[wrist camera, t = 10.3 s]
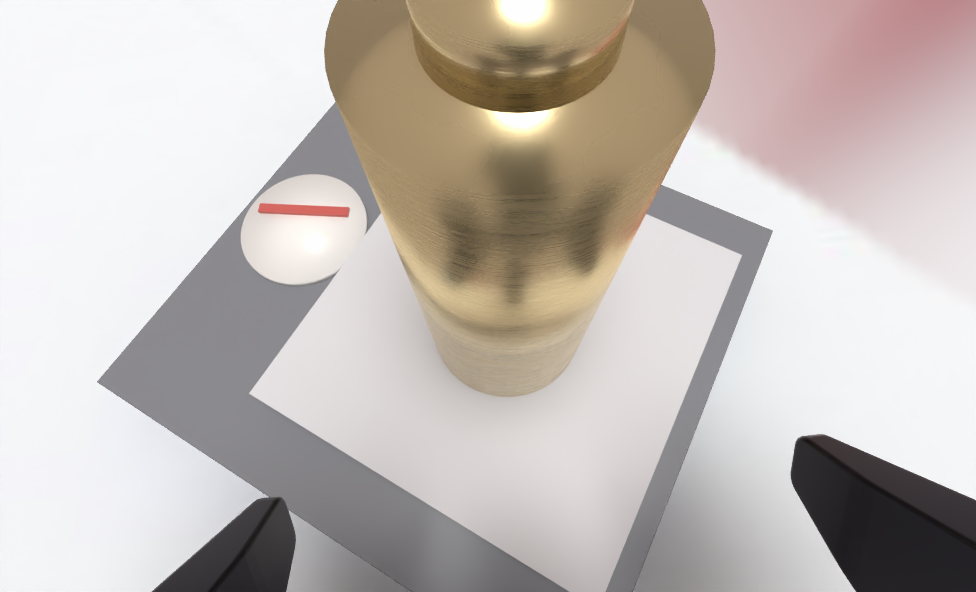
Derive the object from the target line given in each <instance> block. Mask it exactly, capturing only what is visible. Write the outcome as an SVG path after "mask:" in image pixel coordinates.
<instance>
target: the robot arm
mask: <svg viewBox="0 0 976 592" xmlns="http://www.w3.org/2000/svg"><path fill="white" fill-rule="evenodd" d="M791 480H792V484H793V487H794V489H795V491H796V492H797V494H798V496H799V498H800V499H801V501H802V503H803V504H804V506H805V508H806V510H807V511H808V513H809V515H810V517H811V518H812V520H813V522H814V524H815V525H816V527H817V529H818V531H819V532H820V534H821V536H822V538H823V539H824V541H825V543H826V545H827V546H828V548H829V550H830V552H831V553H832V555H833V557H834V558H835V560H836V562H837V563H838V565H839V567H840V568H841V570H842V571H843V573H844V574H845V576H846V577H847V579H848V580H849V582H850V583H851V585H852V586H853V588H854V589H855V591H856V592H976V500H974V499H972V498H970V497H967V496H965V495H963V494H960V493H958V492H956V491H953V490H951V489H949V488H947V487H944V486H942V485H940V484H937V483H935V482H933V481H930V480H928V479H926V478H924V477H921V476H919V475H917V474H914V473H912V472H910V471H907V470H905V469H903V468H900V467H898V466H896V465H894V464H891V463H889V462H887V461H884V460H882V459H880V458H877V457H875V456H873V455H871V454H868V453H866V452H864V451H861V450H859V449H857V448H854V447H852V446H850V445H848V444H845V443H843V442H841V441H838V440H836V439H834V438H831V437H829V436H827V435H823V434H817V435H808V436H802V437H799V438H798V439H797V441H796V443H795V449H794V455H793V461H792V468H791ZM295 541H296V537H295V530H294V527H293V524H292V521H291V517H290V514H289V511H288V508H287V505H286V502H285V500H284V499H283V498H282V497H279V496H277V497H269V498H261V499H258V500H256V501H255V502H253V503H252V504H251V505H250V506H249V507H248V508H246V509H245V510H244V511H243V512H242V513H241V514H240V515H238V516H237V517H236V518H235V519H234V520H233V521H232V522H230V523H229V524H228V525H227V526H226V527H225V528H224V529H223V530H221V531H220V532H219V533H218V534H217V535H216V536H215V537H213V538H212V539H211V540H210V541H209V542H208V543H207V544H205V545H204V546H203V547H202V548H201V549H200V550H199V551H197V552H196V553H195V554H194V555H193V556H192V557H191V558H189V559H188V560H187V561H186V562H185V563H184V564H183V565H181V566H180V567H179V568H178V569H177V570H176V571H175V572H173V573H172V574H171V575H170V576H169V577H168V578H167V579H166V580H164V581H163V582H162V583H161V584H160V585H159V586H158V587H156V588H155V589H154V590H153V591H152V592H286V589H287V584H288V579H289V574H290V569H291V564H292V559H293V554H294V549H295Z"/></svg>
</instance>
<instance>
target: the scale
mask: <svg viewBox="0 0 976 592" xmlns="http://www.w3.org/2000/svg"><path fill="white" fill-rule="evenodd" d="M772 232H773V231H772V230H770V229H767V228H765V227H762V226H760V225H758V224H755V223H753V222H750V221H748V220H745V219H743V218H741V217H738V216H736V215H733V214H731V213H728V212H726V211H724V210H721V209H719V208H716V207H714V206H711V205H709V204H707V203H704V202H702V201H699V200H697V199H694V198H692V197H690V196H687V195H685V194H682V193H680V192H677V191H675V190H673V189H670V188H668V187H665V186H663V185H661V186H660V188H659V189H658V191H657V193H656V195H655V197H654V199H653V201H652V203H651V205H650V207H649V209H648V211H647V213H646V215H645V217H644V219H643V221H642V223H641V225H640V227H639V229H638V231H637V233H636V235H635V237H634V239H633V241H632V243H631V245H630V247H629V248H628V250H627V252H626V254H625V256H624V258H623V260H622V262H621V264H620V266H619V268H618V270H617V272H616V274H615V276H614V278H613V280H612V282H611V284H610V286H609V288H608V290H607V292H606V294H605V296H604V298H603V300H602V302H601V304H600V306H599V307H598V309H597V311H596V313H595V315H594V317H593V319H592V321H591V323H590V325H589V327H588V329H587V331H586V333H585V335H584V337H583V339H582V341H581V343H580V345H579V347H578V349H577V351H576V353H575V355H574V357H573V359H572V361H571V362H570V364H569V365H568V367H567V368H566V369H565V371H564V372H563V373H562V374H561V375H560V376H559V377H558V378H557V379H556V380H555V381H553V382H552V383H551V384H549V385H548V386H546V387H544V388H542V389H540V390H538V391H536V392H533V393H530V394H527V395H522V396H517V397H498V396H492V395H487V394H484V393H481V392H479V391H476V390H474V389H472V388H470V387H468V386H467V385H465V384H464V383H462V382H461V381H460V380H459V379H457V378H456V377H455V376H454V375H453V374H452V373H451V372H450V370H449V369H448V368H447V367H446V365H445V363H444V362H443V360H442V359H441V356H440V354H439V352H438V350H437V347H436V345H435V342H434V340H433V337H432V335H431V333H430V330H429V328H428V325H427V323H426V320H425V318H424V315H423V313H422V311H421V308H420V306H419V303H418V301H417V298H416V296H415V294H414V291H413V289H412V286H411V284H410V281H409V279H408V276H407V274H406V272H405V269H404V267H403V264H402V262H401V259H400V257H399V254H398V252H397V250H396V247H395V245H394V242H393V240H392V237H391V235H390V232H389V230H388V228H387V225H386V223H385V220H384V218H383V215H382V213H381V211H380V208H379V206H378V203H377V201H376V198H375V196H374V193H373V191H372V189H371V186H370V184H369V181H368V179H367V176H366V174H365V171H364V169H363V167H362V164H361V162H360V159H359V157H358V154H357V152H356V150H355V147H354V145H353V142H352V140H351V137H350V135H349V132H348V130H347V128H346V125H345V123H344V120H343V118H342V115H341V113H340V110H339V108H338V106H337V103H336V102H335V103H334V104H333V106H332V107H331V108H330V109H329V110H328V112H327V113H326V114H325V115H324V116H323V117H322V119H321V120H320V121H319V122H318V123H317V124H316V126H315V127H314V128H313V129H312V130H311V131H310V133H309V134H308V135H307V136H306V137H305V139H304V140H303V141H302V142H301V143H300V144H299V146H298V147H297V148H296V149H295V150H294V151H293V153H292V154H291V155H290V156H289V157H288V158H287V160H286V161H285V162H284V163H283V164H282V166H281V167H280V168H279V169H278V170H277V171H276V173H275V174H274V175H273V176H272V177H271V178H270V180H269V181H268V182H267V183H266V184H265V185H264V187H263V188H262V189H261V190H260V191H259V193H258V194H257V195H256V196H255V197H254V198H253V200H252V201H251V202H250V203H249V204H248V205H247V207H246V208H245V209H244V210H243V211H242V212H241V214H240V215H239V216H238V217H237V218H236V220H235V221H234V222H233V223H232V224H231V225H230V227H229V228H228V229H227V230H226V231H225V232H224V234H223V235H222V236H221V237H220V238H219V239H218V241H217V242H216V243H215V244H214V245H213V247H212V248H211V249H210V250H209V251H208V252H207V254H206V255H205V256H204V257H203V258H202V259H201V261H200V262H199V263H198V264H197V265H196V266H195V268H194V269H193V270H192V271H191V272H190V273H189V275H188V276H187V277H186V278H185V279H184V281H183V282H182V283H181V284H180V285H179V286H178V288H177V289H176V290H175V291H174V292H173V293H172V295H171V296H170V297H169V298H168V299H167V300H166V302H165V303H164V304H163V305H162V306H161V308H160V309H159V310H158V311H157V312H156V313H155V315H154V316H153V317H152V318H151V319H150V320H149V322H148V323H147V324H146V325H145V326H144V327H143V329H142V330H141V331H140V332H139V333H138V335H137V336H136V337H135V338H134V339H133V340H132V342H131V343H130V344H129V345H128V346H127V347H126V349H125V350H124V351H123V352H122V353H121V354H120V356H119V357H118V358H117V359H116V360H115V362H114V363H113V364H112V365H111V366H110V367H109V369H108V370H107V371H106V372H105V373H104V374H103V376H102V377H101V378H100V379H99V380H98V381H97V382H98V383H99V384H101V385H102V386H104V387H105V388H107V389H108V390H110V391H111V392H113V393H114V394H116V395H117V396H119V397H120V398H122V399H123V400H125V401H126V402H128V403H129V404H131V405H132V406H134V407H135V408H137V409H138V410H140V411H141V412H143V413H144V414H146V415H147V416H149V417H150V418H152V419H153V420H155V421H156V422H158V423H159V424H161V425H162V426H164V427H165V428H167V429H168V430H170V431H171V432H173V433H174V434H176V435H177V436H179V437H180V438H182V439H183V440H185V441H186V442H188V443H189V444H191V445H192V446H194V447H195V448H197V449H198V450H200V451H201V452H203V453H204V454H206V455H207V456H209V457H210V458H212V459H213V460H215V461H216V462H218V463H219V464H221V465H222V466H224V467H225V468H227V469H228V470H230V471H231V472H233V473H234V474H236V475H237V476H239V477H240V478H242V479H243V480H245V481H246V482H248V483H249V484H251V485H252V486H254V487H255V488H257V489H258V490H260V491H261V492H263V493H264V494H266V495H267V496H269V497H277V496H279V497H282V498H283V499H284V500H285V502H286V505H287V508H288V510H290V511H291V512H293V513H294V514H296V515H297V516H299V517H300V518H302V519H303V520H305V521H306V522H308V523H309V524H311V525H312V526H314V527H315V528H317V529H318V530H320V531H321V532H323V533H324V534H326V535H327V536H329V537H330V538H332V539H333V540H335V541H336V542H338V543H339V544H341V545H342V546H344V547H345V548H347V549H348V550H350V551H351V552H353V553H354V554H356V555H357V556H359V557H360V558H362V559H363V560H365V561H366V562H368V563H369V564H371V565H372V566H374V567H375V568H377V569H378V570H380V571H381V572H383V573H384V574H386V575H387V576H389V577H390V578H392V579H393V580H395V581H396V582H398V583H399V584H401V585H402V586H404V587H405V588H407V589H408V590H410V591H411V592H633V590H634V587H635V585H636V582H637V579H638V577H639V574H640V572H641V569H642V567H643V564H644V561H645V559H646V556H647V554H648V551H649V548H650V546H651V543H652V541H653V538H654V536H655V533H656V530H657V528H658V525H659V523H660V520H661V518H662V515H663V512H664V510H665V507H666V505H667V502H668V500H669V497H670V494H671V492H672V489H673V487H674V484H675V482H676V479H677V476H678V474H679V471H680V469H681V466H682V464H683V461H684V458H685V456H686V453H687V451H688V448H689V446H690V443H691V440H692V438H693V435H694V433H695V430H696V428H697V425H698V422H699V420H700V417H701V415H702V412H703V409H704V407H705V404H706V402H707V399H708V397H709V394H710V391H711V389H712V386H713V384H714V381H715V379H716V376H717V373H718V371H719V368H720V366H721V363H722V361H723V358H724V355H725V353H726V350H727V348H728V345H729V343H730V340H731V337H732V335H733V332H734V330H735V327H736V325H737V322H738V319H739V317H740V314H741V312H742V309H743V307H744V304H745V301H746V299H747V296H748V294H749V291H750V288H751V286H752V283H753V281H754V278H755V276H756V273H757V270H758V268H759V265H760V263H761V260H762V258H763V255H764V252H765V250H766V247H767V245H768V242H769V240H770V237H771V234H772Z"/></svg>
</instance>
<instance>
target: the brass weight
mask: <svg viewBox="0 0 976 592" xmlns="http://www.w3.org/2000/svg"><path fill="white" fill-rule="evenodd" d="M324 54H325V68H326V73H327V77H328V81H329V85H330V88H331V91H332V93H333V96H334V98H335V101H336V103H337V106H338V108H339V110H340V113H341V115H342V118H343V120H344V123H345V125H346V128H347V130H348V132H349V135H350V137H351V140H352V142H353V145H354V147H355V150H356V152H357V154H358V157H359V159H360V162H361V164H362V167H363V169H364V171H365V174H366V176H367V179H368V181H369V184H370V186H371V189H372V191H373V193H374V196H375V198H376V201H377V203H378V206H379V208H380V211H381V213H382V215H383V218H384V220H385V223H386V225H387V228H388V230H389V232H390V235H391V237H392V240H393V242H394V245H395V247H396V250H397V252H398V254H399V257H400V259H401V262H402V264H403V267H404V269H405V272H406V274H407V276H408V279H409V281H410V284H411V286H412V289H413V291H414V294H415V296H416V298H417V301H418V303H419V306H420V308H421V311H422V313H423V315H424V318H425V320H426V323H427V325H428V328H429V330H430V333H431V335H432V337H433V340H434V342H435V345H436V347H437V350H438V352H439V354H440V356H441V359H442V360H443V362H444V363H445V365H446V367H447V368H448V369H449V370H450V372H451V373H452V374H453V375H454V376H455V377H456V378H457V379H459V380H460V381H461V382H462V383H464V384H465V385H467V386H468V387H470V388H472V389H474V390H476V391H479V392H481V393H484V394H487V395H492V396H498V397H517V396H522V395H527V394H530V393H533V392H536V391H538V390H540V389H542V388H544V387H546V386H548V385H549V384H551V383H552V382H553V381H555V380H556V379H557V378H558V377H559V376H560V375H561V374H562V373H563V372H564V371H565V369H566V368H567V367H568V365H569V364H570V362H571V361H572V359H573V357H574V355H575V353H576V351H577V349H578V347H579V345H580V343H581V341H582V339H583V337H584V335H585V333H586V331H587V329H588V327H589V325H590V323H591V321H592V319H593V317H594V315H595V313H596V311H597V309H598V307H599V306H600V304H601V302H602V300H603V298H604V296H605V294H606V292H607V290H608V288H609V286H610V284H611V282H612V280H613V278H614V276H615V274H616V272H617V270H618V268H619V266H620V264H621V262H622V260H623V258H624V256H625V254H626V252H627V250H628V248H629V247H630V245H631V243H632V241H633V239H634V237H635V235H636V233H637V231H638V229H639V227H640V225H641V223H642V221H643V219H644V217H645V215H646V213H647V211H648V209H649V207H650V205H651V203H652V201H653V199H654V197H655V195H656V193H657V191H658V189H659V188H660V186H661V184H662V182H663V180H664V178H665V176H666V174H667V172H668V170H669V168H670V166H671V164H672V162H673V160H674V158H675V156H676V154H677V152H678V150H679V148H680V146H681V144H682V142H683V140H684V138H685V136H686V134H687V132H688V130H689V129H690V127H691V125H692V123H693V121H694V119H695V117H696V115H697V113H698V111H699V109H700V107H701V105H702V102H703V100H704V98H705V96H706V94H707V92H708V89H709V87H710V83H711V79H712V75H713V71H714V62H715V42H714V33H713V29H712V25H711V22H710V18H709V15H708V12H707V10H706V8H705V6H704V4H703V2H702V0H338V2H337V4H336V6H335V8H334V10H333V12H332V14H331V18H330V21H329V25H328V28H327V31H326V39H325V49H324Z"/></svg>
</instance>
